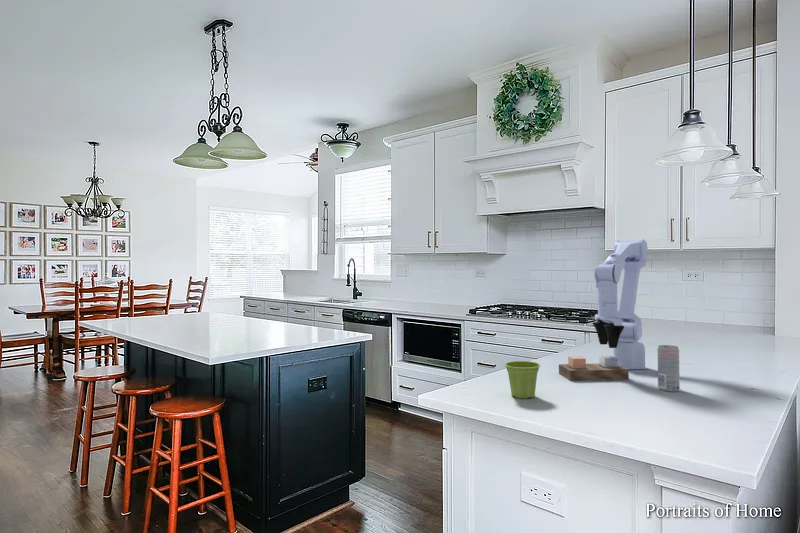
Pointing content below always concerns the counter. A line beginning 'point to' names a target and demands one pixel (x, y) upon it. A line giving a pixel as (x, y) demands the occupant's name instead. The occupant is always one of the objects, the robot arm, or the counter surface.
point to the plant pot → (522, 378)
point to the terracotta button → (576, 362)
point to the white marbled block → (608, 361)
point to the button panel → (593, 372)
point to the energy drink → (668, 368)
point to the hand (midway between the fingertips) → (608, 346)
